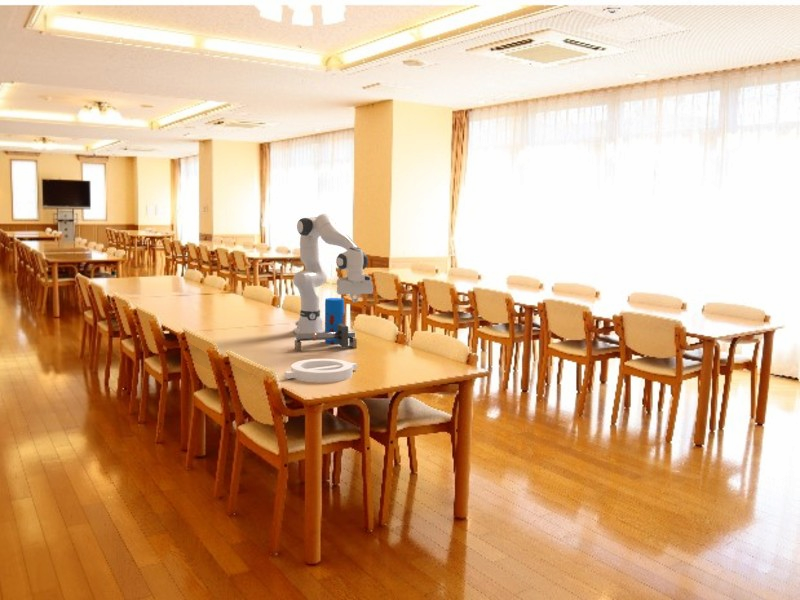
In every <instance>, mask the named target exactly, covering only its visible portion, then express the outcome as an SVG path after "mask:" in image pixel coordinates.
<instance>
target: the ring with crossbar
mask: <svg viewBox="0 0 800 600" xmlns="http://www.w3.org/2000/svg"><path fill="white" fill-rule="evenodd" d="M358 365H359V364H358V363H355V362H349V361H346V360H342V359H337V358H336V359H335V358H334V359H333V358H312V359H311V358H310V359H302V360H299V361H296V362H293V363H292V364H291V367H290V370H287V371H284V378H285V379H294V380H297V381H300V382H307V383H335V382H342V381H345V380H348V379H350V378H352V377H353V375H354V374H353V373H354V372H353V371H354V370H358V369H359V368H358V367H359V366H358Z"/></svg>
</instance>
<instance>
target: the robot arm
mask: <svg viewBox="0 0 800 600" xmlns="http://www.w3.org/2000/svg"><path fill="white" fill-rule="evenodd" d="M296 227H297V229H296V230H297V232H298V233H299V235H300V240H299V255H300V256H299V257H300V261H301V263H302V264H303V265H304V268H305V270H301V271H298V272H296V273H295V274H294V275H293V280H292V281H293V284H294V286H295V288H297V290H298V292H299V296H300V311H299V315H300V316H299V318H298V320H297V321H295V322H294V323H295V326H296V327H294V328H293V329H294V334H295V335H296V334H302V333H322V332H325V329H323V318H321V317H320V316H321V310H320V298H319V297H320V296H318V294H317V293H316V290H315V288H317V287H318V288H319V287H320V286H322V285H324V284H325V283H326V282H327V275H326V272H325V271H324V270H323V268H322V265H321V262H320V258H319V257H320V254H319V237H320V238H321V239H322V240H323V241H324V243H326V244H328V245H333V246H338V247H341V248H343V249H345V250H346V251H344V252H341V253H339V254H338V255H337V256H336V262H335V263H336V265H337V267H338V269H339V270H343V271H346V276H347V277H345V276H344V277H339V278H337V279H336V285H337V286H336V293H337V294H338V295H349V297H350V298H351V302H352V303H358V302H359V298H360V297H361V295H365V294H367V295H369V294H370V295H371V294H373V293H374V283H373V281H372V280H373V279H372V276H370V275H367V274H364V270H365V269H366V268H367V267H368V264H369V258H368V256H367V254H366V253H365V252H363V249H362V248H359V246H357V244H356V243H355V242H354V241H353V240H352V239H351V237H350V236H349V235H347V234H346V233H344V232H343V231H342V230H341V229H340V228H339V227H338V226H337V224H336V223H335V222H334V220H333V219H332V218H331V217H330V216H329V215H328V214H324V213H323V214H322V213H321V214H319V215H318V216H315V217H301V219H299V220H298V222H297V225H296ZM354 295H356V298H354Z"/></svg>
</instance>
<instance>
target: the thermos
mask: <svg viewBox="0 0 800 600" xmlns="http://www.w3.org/2000/svg"><path fill="white" fill-rule="evenodd" d="M337 324H344V325H345V298H341V297H329V298H325V300H324V330H325V332H337ZM324 341H325V343H326V344H328V345H339V344H338V343H337V339H328V340H324Z"/></svg>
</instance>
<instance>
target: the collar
mask: <svg viewBox="0 0 800 600" xmlns="http://www.w3.org/2000/svg"><path fill="white" fill-rule="evenodd" d="M348 331H349V326H347V325H346V324H345V323H344V324H337V332H341V339H337V343H338V344H337V345H339V346H341V347H343V348H346V347H349V338H348Z"/></svg>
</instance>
